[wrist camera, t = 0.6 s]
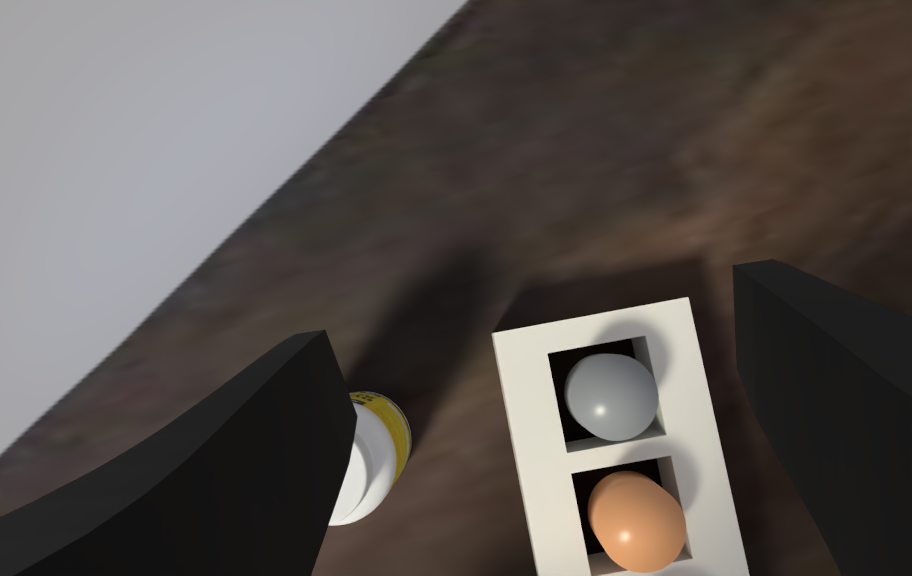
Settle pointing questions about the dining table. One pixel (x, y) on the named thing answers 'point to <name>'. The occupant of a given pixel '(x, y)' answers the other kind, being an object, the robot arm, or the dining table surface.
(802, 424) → the robot arm
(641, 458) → the button panel
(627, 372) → the grey button
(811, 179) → the dining table surface
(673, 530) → the orange rounded dome
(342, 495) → the supplement bottle
